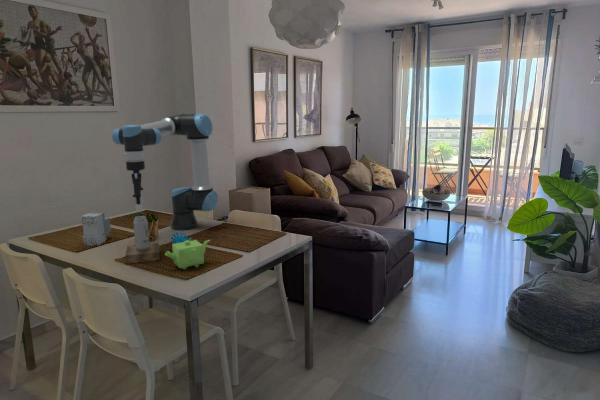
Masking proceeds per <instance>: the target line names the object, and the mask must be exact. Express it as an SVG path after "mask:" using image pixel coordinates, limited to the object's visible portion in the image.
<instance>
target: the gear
mask: <svg viewBox="0 0 600 400" xmlns="http://www.w3.org/2000/svg"><path fill="white" fill-rule="evenodd" d="M179 234H180V235H179ZM187 240H189V241H192V237H188V235H187V234H185V235H184V232H178V231H176V232H174V233H172V236H170V243H171V244H175V243H181V242H184V241H187Z"/></svg>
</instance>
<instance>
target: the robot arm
mask: <svg viewBox="0 0 600 400" xmlns="http://www.w3.org/2000/svg"><path fill="white" fill-rule="evenodd" d="M212 133H213V123H212V120H211V118H209V115H207V114H204V113H179V114H174V115H171V116H167V117H163V118H162V119H161V120H158V121H153V122H150V123H144V124H126V125H125V124H124V125H123V127H120V128H115V129H114V130H113V131H112V133H111V138H112V141H113V142H114V143H115V144H116V145H119V146H120V145H121V146H123V147H124V152H125V153H123V156H125V166H126V170H127V171H132V172H133V173H131V179H132V180H131V181H132V184H133V193H134V194H133V195H132V198H134V206H135V212H136V213H137V212H143V211H144V210H143V205H144V204H143V203H144V201H143V192H142V191H144V187H142V173H140V172H141V171H143V170H145V169H146V167H145V166H146V165H145V161H144V160H145V154H144V153H145V151H144V147H145V146H155V145H159V144H160V142H161V141H162V137H163V136H168V137H170V136H186V140H187V141H188V142H189V143H190V144H189V145H190V154H191V163H192V164H191V165H192V176H193V186H184V187H179V188H178V187H177V188H174V189H173V190H172V191H171V202H172V203H171V204H172V205H171V206H172V218H171V221H170V229H172V230H175V231H185V230H186V231H187V230H192V229H195V228H198V226H199V225H198V220H197V217H196V215H195V212H194V211H198V212H199V211H200V212H211V211H213V210H214V209H215V208H216V207H217V204H218V201H219V200H218V199H219V197H218V193H217V191H215V190H214V187H213V185H212V184H211V183H210V171H209V170H210V169H209V161H208V160H209V159H208V149H207V147H208V146H207V141H209V138H210V137H209V136H211V135H212Z"/></svg>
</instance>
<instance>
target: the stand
mask: <svg viewBox="0 0 600 400" xmlns="http://www.w3.org/2000/svg"><path fill="white" fill-rule="evenodd" d="M156 260H159V261H161V256H160V245H159V242H154V243H150V247H149V249H147V250H143V251H139V250H137V249H136V245H127V246H126V251H125V263H126V265H132V264H131V263H134V264H139V263H138V262H142V263H149V262H148V261H150V262H157V261H156Z"/></svg>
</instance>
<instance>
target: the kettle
mask: <svg viewBox="0 0 600 400" xmlns="http://www.w3.org/2000/svg"><path fill="white" fill-rule="evenodd" d="M210 241H211V239H208V240H204V242H203V244H202V243H201V242H199V241H198V240H197V239H194V240H190V241H189V240H187V241H184V242H181V243H171V246H172V248H171V249H172V251H171V252H170V251H169V250H166V251H165V253H164V256H166V257H168V258H170V259H172V260H173V263H174V264H175V266H177V268H179V269H181V270H182V269H186V268H187V269H188V267H194V266H195V267H194V268H199V267H198V266H200V265H203V264H205V257H204V255H205V253H206V250H207V249H206V248H207V245H208V243H210ZM187 269H186V270H187Z"/></svg>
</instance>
